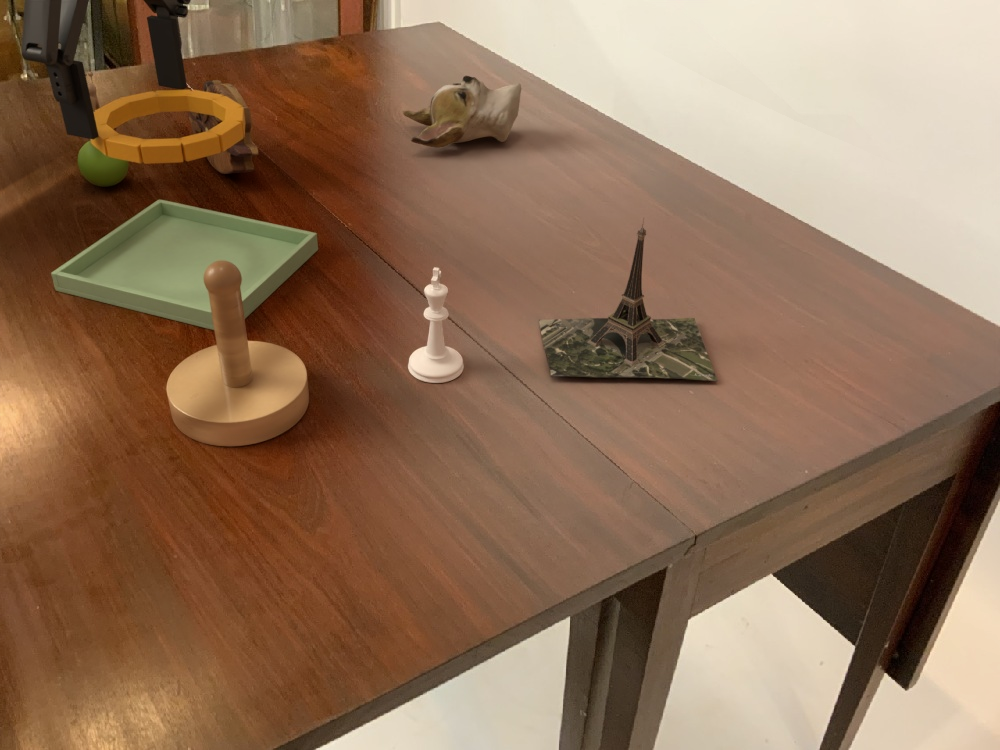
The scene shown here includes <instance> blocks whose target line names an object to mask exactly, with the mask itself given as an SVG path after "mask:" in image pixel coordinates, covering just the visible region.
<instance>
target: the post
mask: <svg viewBox="0 0 1000 750" xmlns="http://www.w3.org/2000/svg"><path fill="white" fill-rule="evenodd" d="M241 282H242V277H241V273H240V271H239V269H238V268H237V267H236V266H235V265H234V264H233V263H231V262H228V261H223V260H222V261H216V262H214V263H212V264H210V265H209V266H208V267H207V269H206V270H205V273H204V284H205V287H206V288H207V290H208V294H209V300H210V306H211V312H212V319H213V325H214V330H213V331H214V337H215V344H213V345H211V346H208V347H205V348H203V349H201V350H198V351H196V352H194V353H193V354H191V355H189V356H187V357H186V358H185V359H183V360H182V361H180V362H179V364H178V365H176V366H175V368H173V370H172V372H171V373H170V375H169V376H168V379H167V382H166V395H167V401H168V405H169V410H170V415H171V419H172V421H173V424H174V425H175V427H176V428H177V430H179V431H180V432H181V433H182V434H183V435H185V436H186V437H188V438H190V439H192V440H193V441H196V442H199V443H201V444H206V445H211V446H217V447H242V446H249V445H254V444H259V443H262V442H265V441H269V440H271V439H273V438H276V437H278V436H280V435H282V434H284V433H286V432H287V431H289V430H290V429H291V428H292V427H294V426H295V425H297V423H298V422H300V420H302V418H303V416H304V415H305V414H306V411H307V409H308V407H309V403H310V391H309V390H310V389H309V380H308V378H309V377H308V371H307V368H306V365H305V363H304V362H303V360H302V359H301V358H300V357H299V356H298V355H297V354H295V352H293V351H291V350H290V349H289V348H287V347H284V346H281V345H279V344H275V343H271V342H267V341H259V340H248V334H247V333H248V332H247V326H246V318H244V311H243V304H242V296H241V289H240V286H241Z"/></svg>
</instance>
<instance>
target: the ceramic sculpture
mask: <svg viewBox="0 0 1000 750" xmlns="http://www.w3.org/2000/svg"><path fill="white" fill-rule="evenodd" d="M521 95H522V84H521V83H515V84H510V85H504V86H502V87H499V88H494V89H490V88H488V87H487V86H486V85H485V84H484V82H483V81H482V80H481V79H477V77H475V76H470V75H464V76H463V77H462V80H461V83H456V82H455V83H452V84H445V85H442V86H441V87H440V88H439V89H438V90H437V91H436V92H435V93H434V94H433V95H432V98H431V100H430V105H429V106H428V107H427V108H422V109H420V110H418V111H412V110H404V111H402V113H403V115H404V116H405V117H407V118H409V119H410V120H413V121H414V122H415V123H418V124H421V125H424V126H427V127H425V128H424V129H423V130H422V131H421V132H420V133H419V134H418V135H417V136H414V137H411V138H410V141H411V142H412V143H415V144H418V145H422V146H426V147H430V148H444V147H447V146H449V145H452V144H460V143H465V142H470V141H473V140H476V139H481V138H487V137H493V138H494V139H496V140H497V141H498V142H501V143H502V142H505V141H506V140H508V138H509V135H510V132H511V130H512V128H513V125H514V123H515V121H516V119H517V117H518V116H519V110H520V103H521Z"/></svg>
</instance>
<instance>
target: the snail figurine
mask: <svg viewBox="0 0 1000 750" xmlns="http://www.w3.org/2000/svg"><path fill="white" fill-rule="evenodd" d="M85 75H86V77H87V76H88V77H90V80H91V82H87V85H88V89H89V94H90V98H91V103H92V108H93V112H95V110H97V109H99V108H101V107H100V102H99V98H98V95H97V87H96V85H95V84H94V82H93V76H94V73H93V72H92V71H88V72H86V71H85ZM129 162H130V161H126V160H121V159H116V158H111V157H109V156H106V155H104V154H103V153H102V152H101V151H100V150H98V149H97V148H96V147H95V146H94V145H92V144H91V140H90V139H89V140H88V141H87V142H85V143H84V144H83V145H82V146H81V148H80V149H79V151H78V154H77V167H78V169H79V170H78V171H79V172H80V174H81V175H82V177H83V178H84V179H85V180H86V181H87V182H89V183H90V184H93V185H95V186H98V187H103V188H104V187H113V186H115V185H118V184H120V183H121V182H122V181H123V180H124V179H125V177H126V176H127V174H128V171H129V169H130V168H129V167H130V163H129Z"/></svg>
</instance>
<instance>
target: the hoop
mask: <svg viewBox="0 0 1000 750" xmlns="http://www.w3.org/2000/svg"><path fill="white" fill-rule="evenodd" d="M189 111H191V112H196V113H202V114H207V115H212V116H215V117H217V118H218V119H220V120H221V121H223V122H221V123H220V124H218V125H216V126H215V127H213V128H212V129H210V130H209V131H206V132H202V133H198V134H194V133H193V134H190V135H187V136H182V137H178V138H177V137H171V138H140V137H136V136H131V135H126V134H121V133H118V132H117V131H116V130H115V129H116V128H118V127H119V126H121V125H123V124H125V123H127V122H128V121H130V120H132V119H136V118H137V119H138V118H141V117H145V116H149V115H153V114H158V113H172V112H173V113H174V112H175V113H176V112H189ZM94 117H95V121H96V126H97V130H98V135H99V137H97V138H95V139H89V141H90V140H91V144H92V145H94V146H95V147H96V148H97V149H98V150H100V151H101V152H102V153H103V154H104V155H106V156H109V157H111V158H116V159H121V160H126V161H129V162H131V163H137V164H142V163H143V164H144V165H146V164H149V165H152V164H173V163H184V161H185V162H190V161H195V160H199V159H202V158H207V156H210V155H214V154H218V153H221V151H223V152H224V151H225V150H227V149H228V148H230V147H231V146H233V145H234V144H236V143H237V142H239V141H240V140H242V139H243V137H245V116H244V108H243V107H242V106H241V105H240V104H238V103H237V102H235V101H233V100H232V99H230V98H229V97H227V96H224V95H221V94H215V93H210V92H204V91H203V90H199V89H183V90H180V89H163V90H162V89H161V90H159V89H158V90H155V91H154V90H150V91H145V92H140V93H137V94H131V95H126V96H122V97H119V98H116V99H114V100H112V101H111V102H109V103H106V104H105V105H103V106H101V107H100V108H99V109H97V110H95V112H94Z"/></svg>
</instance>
